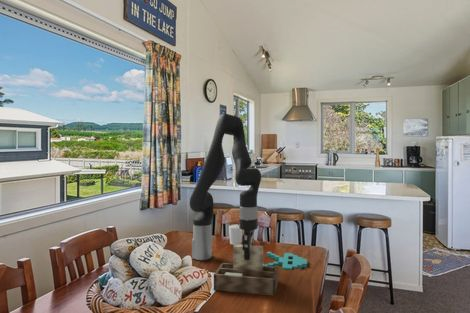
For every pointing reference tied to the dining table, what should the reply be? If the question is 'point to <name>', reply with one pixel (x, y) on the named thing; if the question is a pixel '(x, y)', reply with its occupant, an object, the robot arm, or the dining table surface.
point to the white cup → (235, 234)
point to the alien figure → (287, 261)
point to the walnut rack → (246, 280)
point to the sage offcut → (234, 274)
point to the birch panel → (253, 262)
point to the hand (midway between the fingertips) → (248, 256)
